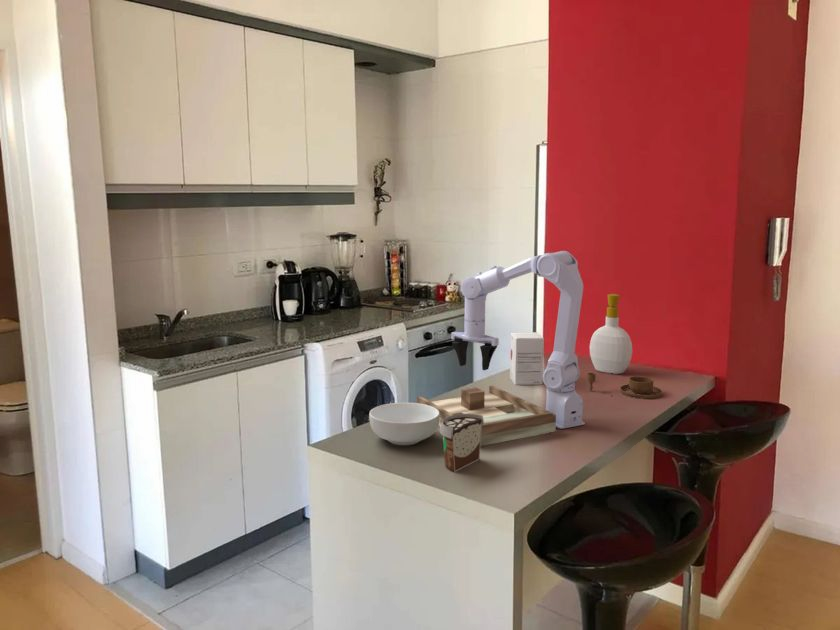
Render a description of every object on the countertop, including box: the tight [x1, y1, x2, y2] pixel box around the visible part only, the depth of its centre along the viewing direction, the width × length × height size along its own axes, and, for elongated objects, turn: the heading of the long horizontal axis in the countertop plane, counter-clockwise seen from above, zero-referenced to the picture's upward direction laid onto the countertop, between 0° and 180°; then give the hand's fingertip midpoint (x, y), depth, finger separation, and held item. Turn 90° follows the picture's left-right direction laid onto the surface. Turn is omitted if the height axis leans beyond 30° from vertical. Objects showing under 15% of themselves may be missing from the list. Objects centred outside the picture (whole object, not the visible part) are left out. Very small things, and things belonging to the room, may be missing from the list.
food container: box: [439, 414, 484, 473], centre depth 152 cm, size 12×6×10 cm, turn 141°
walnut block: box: [460, 387, 486, 410], centre depth 184 cm, size 4×4×4 cm
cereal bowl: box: [368, 402, 440, 446], centre depth 166 cm, size 17×17×7 cm
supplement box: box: [509, 331, 545, 386], centre depth 217 cm, size 9×9×15 cm
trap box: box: [416, 385, 556, 447], centre depth 179 cm, size 29×24×5 cm
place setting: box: [586, 372, 663, 400], centre depth 208 cm, size 18×20×6 cm
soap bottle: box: [589, 293, 633, 375], centre depth 228 cm, size 14×9×26 cm, turn 52°
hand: (473, 367), depth 194 cm, fingers open, 7 cm apart
